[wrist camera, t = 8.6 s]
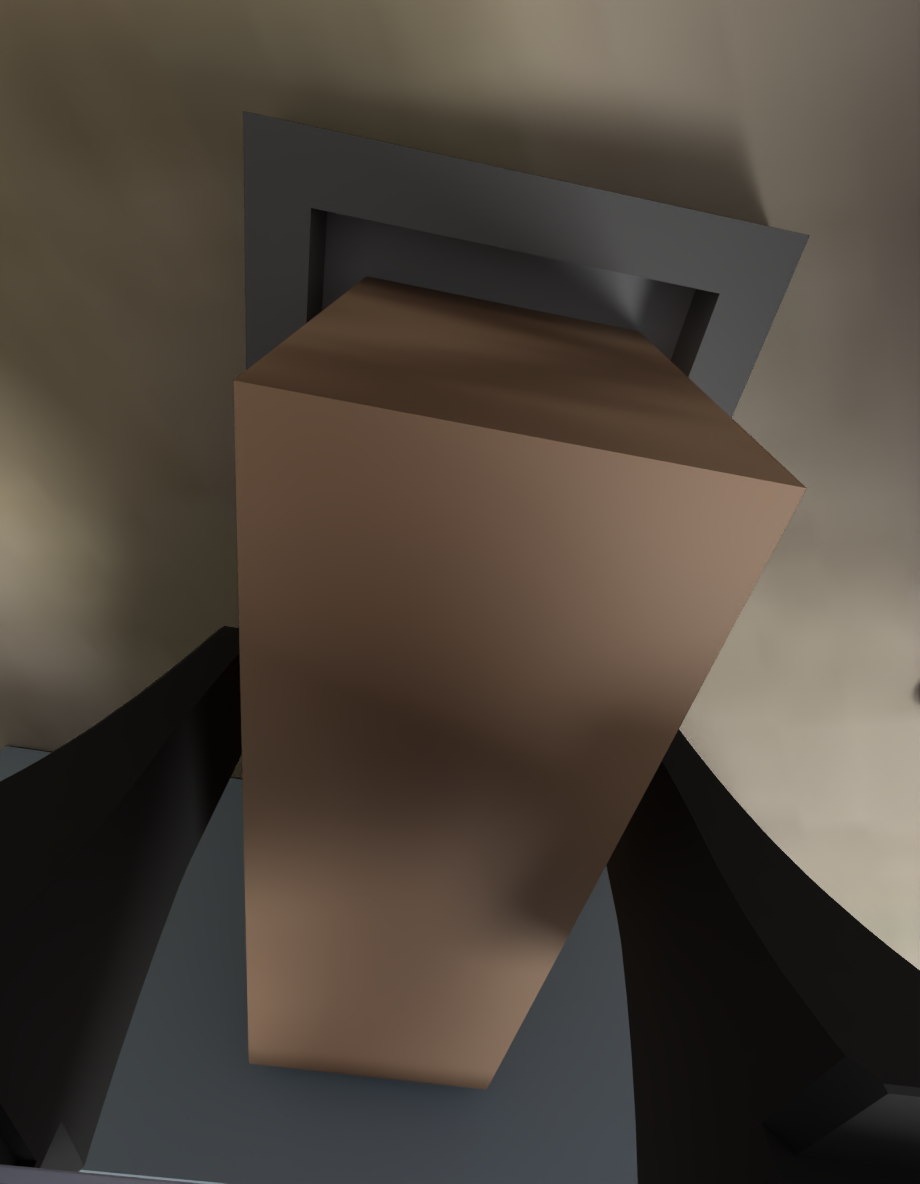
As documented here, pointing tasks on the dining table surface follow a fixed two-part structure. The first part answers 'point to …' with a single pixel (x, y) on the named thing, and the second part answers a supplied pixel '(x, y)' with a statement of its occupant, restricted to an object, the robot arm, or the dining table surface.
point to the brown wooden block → (462, 654)
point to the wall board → (216, 870)
